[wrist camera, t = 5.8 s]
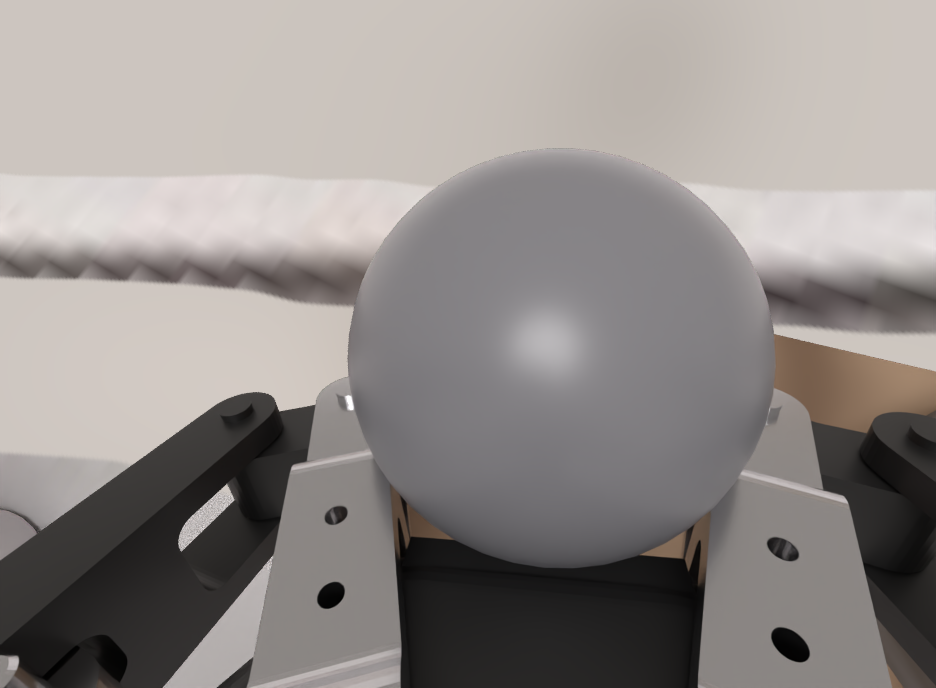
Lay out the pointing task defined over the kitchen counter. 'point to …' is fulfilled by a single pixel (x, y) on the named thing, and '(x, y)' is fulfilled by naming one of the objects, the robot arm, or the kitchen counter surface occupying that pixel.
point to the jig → (836, 404)
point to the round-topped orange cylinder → (561, 358)
